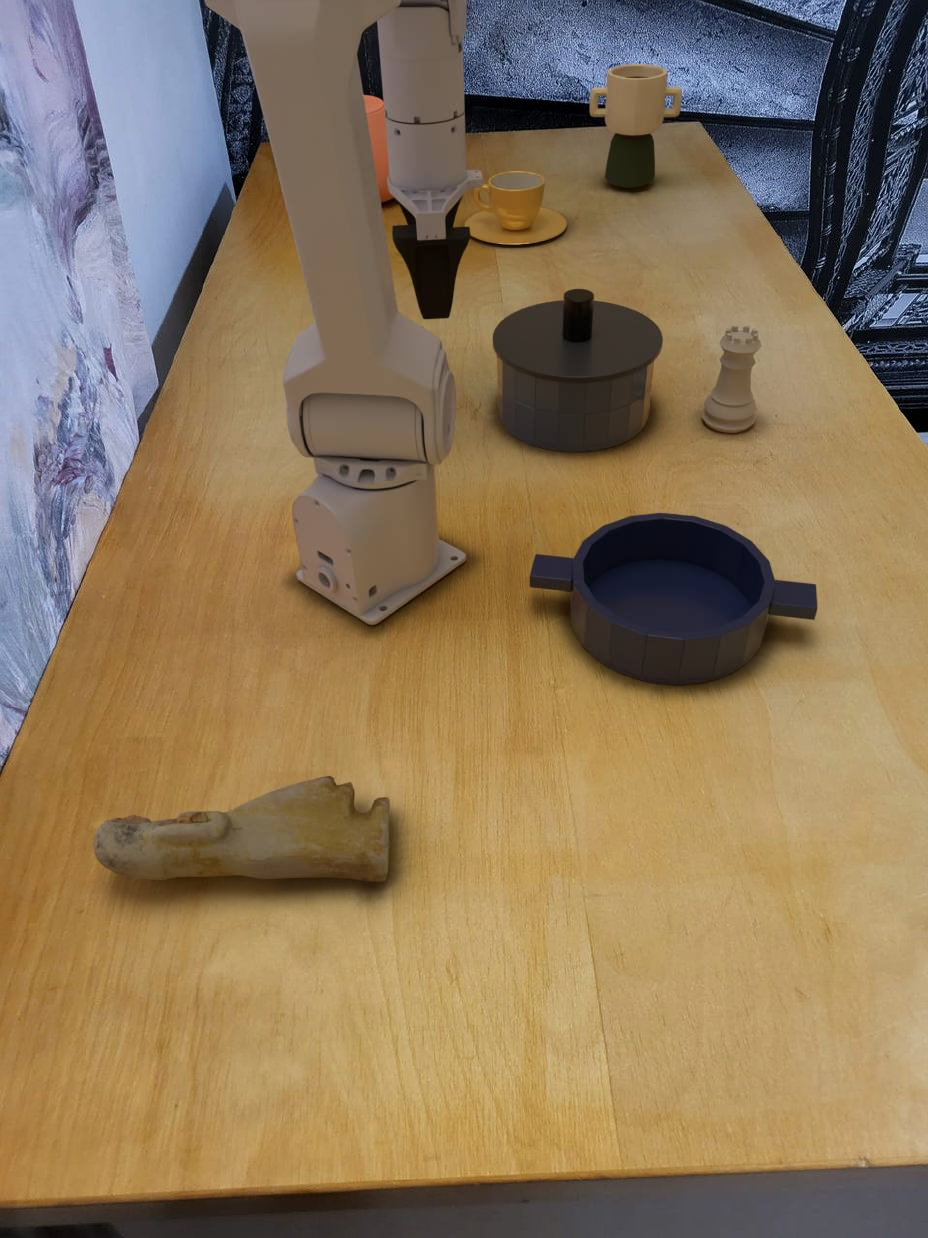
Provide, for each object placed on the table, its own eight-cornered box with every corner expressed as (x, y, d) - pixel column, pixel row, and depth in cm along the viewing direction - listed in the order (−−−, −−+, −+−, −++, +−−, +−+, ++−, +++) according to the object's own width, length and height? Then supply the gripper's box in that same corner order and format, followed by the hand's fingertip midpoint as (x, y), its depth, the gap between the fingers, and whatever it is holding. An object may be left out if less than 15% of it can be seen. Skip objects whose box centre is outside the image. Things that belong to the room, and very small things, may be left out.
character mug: (672, 174, 130) (683, 62, 121) (673, 194, 125) (685, 78, 116) (587, 174, 131) (592, 63, 122) (585, 193, 126) (590, 78, 117)
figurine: (389, 763, 55) (103, 762, 53) (394, 810, 50) (79, 810, 48) (385, 848, 56) (107, 850, 54) (390, 902, 51) (84, 906, 49)
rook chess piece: (716, 402, 87) (730, 314, 82) (764, 417, 85) (781, 328, 79) (690, 423, 84) (702, 335, 79) (739, 440, 82) (754, 350, 77)
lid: (654, 396, 76) (660, 340, 73) (477, 382, 79) (475, 327, 76) (667, 316, 86) (672, 264, 83) (509, 306, 89) (509, 255, 86)
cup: (574, 212, 121) (576, 165, 118) (556, 250, 113) (557, 201, 109) (478, 206, 124) (476, 160, 120) (453, 244, 115) (451, 195, 112)
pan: (810, 703, 60) (823, 656, 58) (515, 665, 64) (515, 619, 61) (804, 572, 69) (815, 527, 67) (546, 545, 73) (547, 500, 70)
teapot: (300, 166, 137) (286, 66, 129) (410, 159, 138) (403, 59, 130) (294, 225, 121) (278, 115, 113) (419, 217, 122) (412, 107, 113)
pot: (586, 470, 80) (591, 397, 76) (467, 417, 86) (465, 347, 82) (677, 406, 87) (685, 335, 82) (560, 361, 93) (562, 294, 89)
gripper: (487, 141, 66) (490, 334, 75) (475, 82, 77) (479, 257, 86) (379, 146, 66) (396, 338, 75) (383, 86, 77) (397, 261, 86)
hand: (434, 295), depth 81 cm, fingers open, 7 cm apart
